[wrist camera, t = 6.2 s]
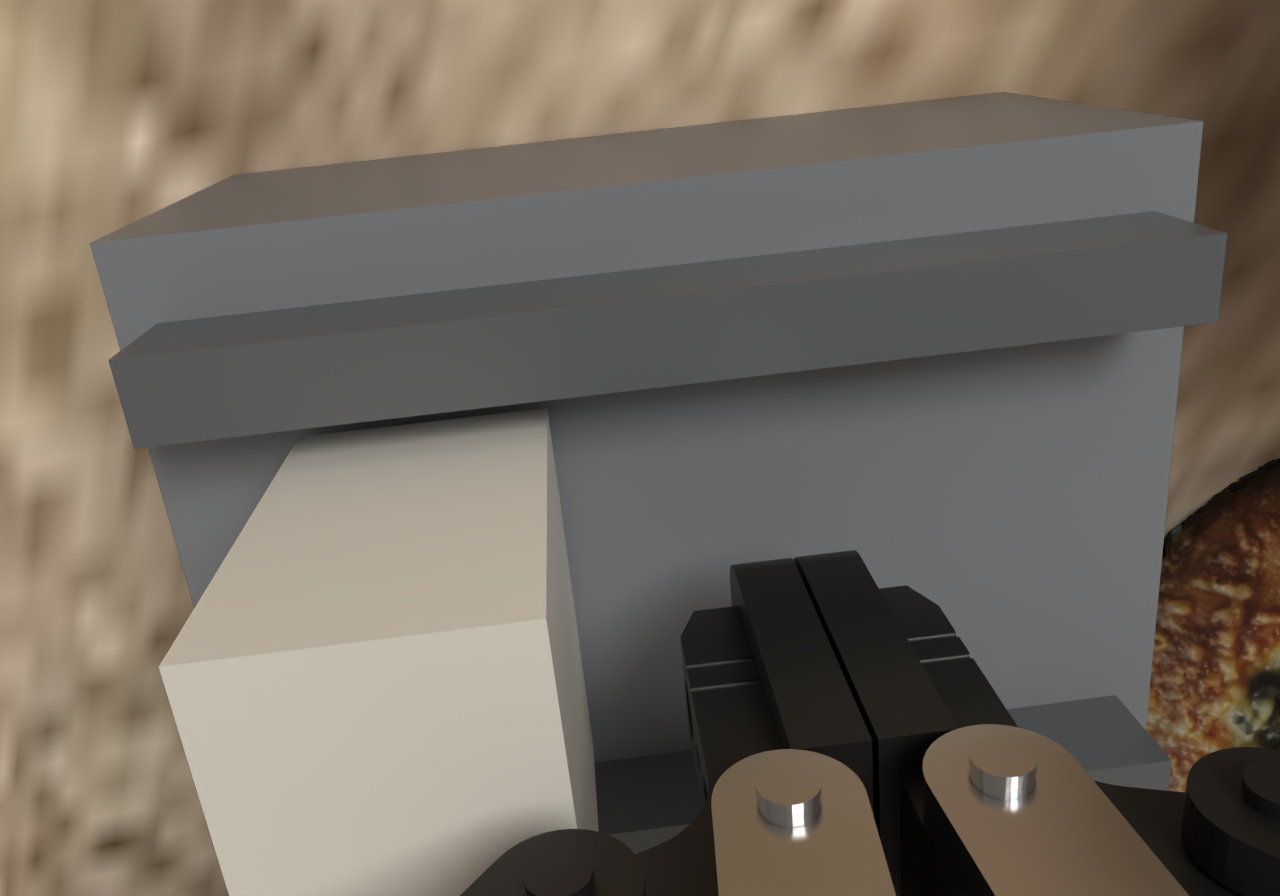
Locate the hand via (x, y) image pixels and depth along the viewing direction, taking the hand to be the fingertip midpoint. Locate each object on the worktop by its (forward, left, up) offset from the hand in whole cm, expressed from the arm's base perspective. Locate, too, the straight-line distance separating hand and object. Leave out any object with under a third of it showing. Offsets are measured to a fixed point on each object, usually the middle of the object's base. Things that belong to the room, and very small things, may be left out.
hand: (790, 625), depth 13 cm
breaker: (+4, 0, -2) cm, 4 cm away
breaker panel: (+1, +5, -8) cm, 9 cm away
